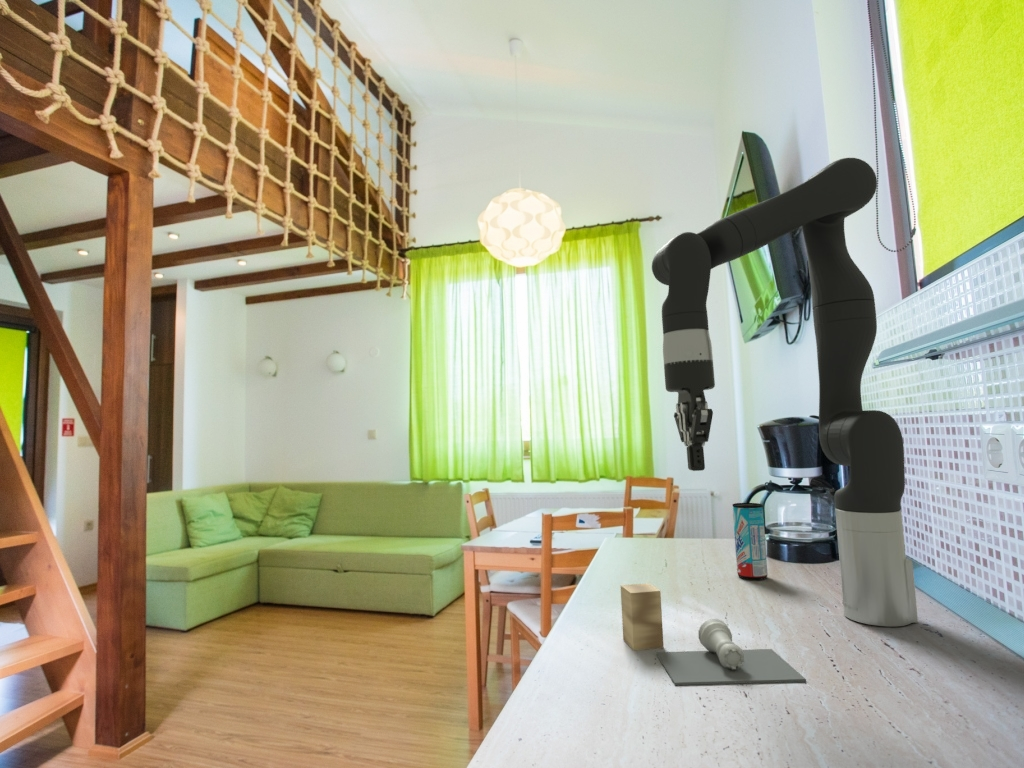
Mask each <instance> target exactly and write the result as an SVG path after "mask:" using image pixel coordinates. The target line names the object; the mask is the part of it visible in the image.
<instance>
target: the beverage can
mask: <svg viewBox="0 0 1024 768" xmlns="http://www.w3.org/2000/svg"><path fill="white" fill-rule="evenodd" d="M732 518H733V532H734V548H735V560H736V562H735V563H736V574H737V576H738V577H739V578H741V579H743V580H749V581H761V580H765V579H767V578H768V575H769V574H768V562H767V561H768V560H767V549H766V547H767V545H766V533H765V532H766V531H765V519H764V509H763V504H762V503H758V502H757V503H756V502H737V503H736V502H735V503H732Z"/></svg>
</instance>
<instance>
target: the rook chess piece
mask: <svg viewBox="0 0 1024 768" xmlns="http://www.w3.org/2000/svg"><path fill="white" fill-rule="evenodd" d="M698 641H699V642H700V644H701V645H702V647H704V648H705V650H706V651H710V652H713V653H717V655H718V657H719V661H720V663H721V664H722V665H723V666H724V667H725V668H728V669H732V670H736V668H738V667H739V668H740V667H742V662H744V653H743V651H742V650H743V648H742V647H740V646H739V645H738V644H736V643H735V642H733V634H732V632H731V629H730V628H729V626H728V625H727V624H726V622H724V621H723V620H721V619H718V618H710V619H707V620H705V621H704V622H703V623H702V624H700V627H699V630H698Z"/></svg>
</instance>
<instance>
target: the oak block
mask: <svg viewBox="0 0 1024 768" xmlns="http://www.w3.org/2000/svg"><path fill="white" fill-rule="evenodd" d="M661 593H662V592H661V590H660V589H659V588H657V587H656V586H654V585H652V584H651V583H650V582H646V583H636V584H635V583H633V584H623V585H620V598H621V599H620V600H621V601H620V602H621V621H622V622H621V623H622V640H623V641H624V642H625V643H626V644H627V645H628V646H629V647H630V648H631V650H632V651H640V650H641V651H642V650H650V649H651V650H653V649H662V648H663V649H664V647H665V646H664V630H663V615H662V614H663V613H662V611H663V610H662V596H661Z"/></svg>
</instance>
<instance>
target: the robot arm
mask: <svg viewBox="0 0 1024 768" xmlns="http://www.w3.org/2000/svg"><path fill="white" fill-rule="evenodd" d="M877 184H878V180H877V175H876V172H875V171H874V169H873V168H872V166H871V165H870V164H869V163H868V162H866V161H865V160H864V159H863V160H862V159H860V158H857V157H843V158H840V159H836V160H834V161H832V162H830V163H829V164H827V165H826V166H824V167H823V168H822V169H820V170H819V171H817V172H816V173H814V174H813V175H811V176H810V177H809V178H807V179H806V180H805V181H804V182H802V183H800V184H799V185H797V186H795V187H793V188H790V189H789V190H786V191H784V192H782V193H780V194H778V195H776V196H773V197H771V198H768V199H765V200H764V201H760V202H759V203H756V204H753V205H751V206H748V207H746V208H743V209H742V210H739V211H736V212H734V213H732V214H729V215H727V216H725V217H723V218H721V219H718V220H716V221H714V222H713V223H710V224H709V225H707V226H706V227H705V228H703V229H702V230H701V231H699V232H697V233H695V232H690V231H685V232H682V233H679V234H677V235H675V236H674V237H673V238H671V239H670V240H669V241H667V243H665V244H664V245H663V246H661V247H660V248H659V249H658V250H657V251H656V253H655V254H654V256H653V258H652V261H651V262H652V263H651V271H652V274H653V276H654V278H655V279H656V281H658V282H659V283H660V284H662V285H665V286H668V292H667V296H666V298H665V300H664V301H663V303H662V305H661V323H662V324H661V325H662V334H663V335H662V336H663V337H662V338H663V339H662V356H663V357H662V358H663V370H664V382H665V383H664V384H665V385H664V386H665V390H666V391H667V392H669V393H677V395H678V396H677V403H675V409H676V412H674V414H673V417H674V421H675V424H676V427H677V431H678V434H679V437H680V441H681V443H683V444H684V446H685V447H686V456H687V457H686V459H687V469H688V470H689V471H691V472H692V471H693V472H697V471H698V472H699V471H704V470H705V468H706V465H705V453H704V446H705V445H706V443H707V442H709V439H710V432H711V427H712V420H713V414H714V413H713V411H714V410H713V409H712V408H709V407H708V406H709V405H708V402H707V400H706V396H705V392H704V391H708V390H713V389H714V388H715V387H716V382H715V370H714V368H715V367H714V359H713V357H714V356H713V347H712V340H711V336H710V331H709V318H708V308H707V300H708V294H709V290H710V288H709V287H710V280H711V271H712V270H713V269H714V268H716V267H718V266H721V265H723V264H726V263H729V262H732V261H734V260H738V259H739V258H741V257H744V256H746V255H748V254H750V253H753V252H755V251H757V250H759V249H761V248H763V247H765V246H766V245H769V244H771V243H772V242H774V241H776V240H778V239H780V238H781V237H783V236H785V235H787V234H789V233H790V232H793V231H794V230H796V229H799V228H801V230H802V231H801V232H802V236H803V240H804V241H803V242H804V246H805V250H806V256H807V264H808V265H807V266H808V273H809V280H810V281H809V282H810V292H811V304H812V305H811V307H812V317H813V319H812V320H813V329H814V335H815V344H816V354H817V355H816V356H817V371H818V372H817V373H818V383H819V384H818V385H819V394H818V395H819V397H818V398H819V399H818V400H819V401H818V402H819V403H818V405H819V406H818V437H819V445H820V447H821V449H822V452H823V454H824V455H825V456H826V458H827V459H828V460H829V461H830V462H832V463H834V464H835V465H839V466H845V467H849V480H848V482H847V483H846V485H844V486H843V487H841V488H839V489H837V490H836V491H835V493H834V497H833V498H834V507H835V509H834V511H835V521H836V534H837V535H836V536H837V546H838V556H839V557H838V558H839V570H840V580H841V581H840V582H841V595H842V606H843V615H844V616H845V617H846V618H848V619H849V620H851V621H855V622H858V623H862V624H866V625H870V626H871V625H872V626H878V627H879V626H880V627H891V628H892V627H904V626H907V625H910V624H912V623H913V624H914V623H915V624H916V623H918V622H919V618H918V607H917V597H916V586H915V575H914V564H913V561H912V559H910V558H908V557H906V556H907V555H906V545H905V537H904V535H905V534H904V527H903V515H902V498H903V496H904V494H905V493H904V492H905V489H906V488H905V487H906V482H905V481H906V479H905V478H906V476H905V475H906V473H905V472H906V471H905V449H904V448H905V446H904V438H903V435H902V434H903V433H902V431H901V429H900V426H899V425H898V422H897V421H896V419H895V418H893V416H891V415H890V414H889V413H887V412H885V411H882V410H876V409H875V410H874V409H870V410H869V409H868V410H863V403H862V392H861V387H862V386H861V385H862V378H863V374H864V371H865V368H866V364H867V362H868V360H869V358H870V355H871V352H872V349H873V348H874V343H875V340H876V336H877V332H878V331H877V328H878V324H877V323H878V322H877V312H876V311H877V310H876V303H875V301H876V299H875V294H874V290H873V289H872V286H871V284H870V282H869V281H868V279H867V277H866V276H865V274H864V273H863V271H861V269H860V268H859V266H857V264H856V263H855V262H854V260H853V259H852V258H851V255H850V252H849V250H848V247H847V242H846V234H845V219H846V218H848V217H850V216H851V215H853V214H854V213H856V212H858V211H860V210H861V209H863V208H864V207H865V206H866V205H867V204H868V203H870V201H871V200H872V199H873V197H874V196H875V194H876V191H877V188H878V185H877Z"/></svg>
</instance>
